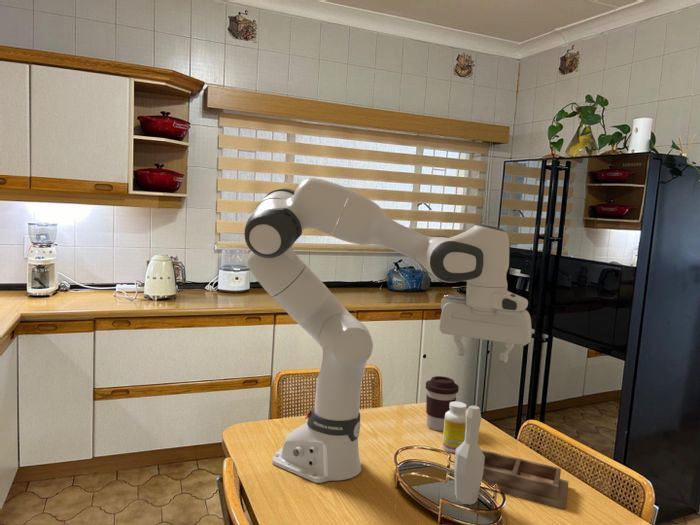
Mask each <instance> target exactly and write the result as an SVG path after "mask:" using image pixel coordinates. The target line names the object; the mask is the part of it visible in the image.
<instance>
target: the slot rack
mask: <svg viewBox="0 0 700 525" xmlns="http://www.w3.org/2000/svg"><path fill="white" fill-rule="evenodd" d="M481 451H482V452H483V454H484V456H485V460H484V470H483V477H482V479H484V480H485V481H486V482H488V483H489V484H490V485H492V486H494V485H495V484H496V483H497V484H498V486H499V487H500V488H501V490H502V491H503V492H504V493H503V494H505V495H508V496H509V495H510V496H513V497H516V498H520V499H524V500H527V501H528V500H529V501H531V502H536V503H539V504H543V505H547V506H550V507H555V508H558V509H563V510H566V506H567V498H568V497H567V496H568V490H569V480H566V479H563V478H561V471H562V468H561V467H557V466H553V465H547V464H543V463H540V462H535V461H531V460H527V459H523V458H518V457H515V456H514V457H513V456H510V455H505V454H501V453H497V452H494V451H490V450H485V449H481Z"/></svg>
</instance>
